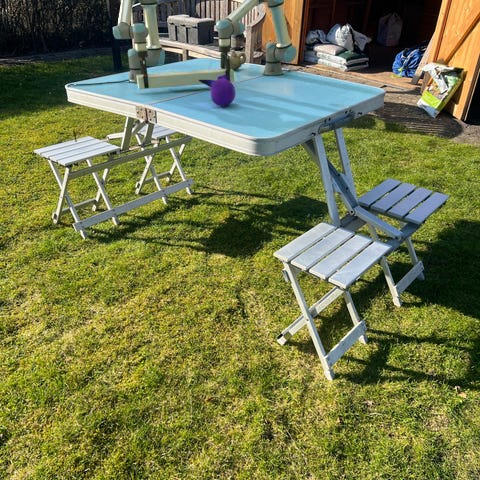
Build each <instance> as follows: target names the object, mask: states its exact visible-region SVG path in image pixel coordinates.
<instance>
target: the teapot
mask: <svg viewBox="0 0 480 480" xmlns="http://www.w3.org/2000/svg"><path fill="white" fill-rule="evenodd" d="M241 58H242V59H241ZM229 59H230V69H232V70H234V71H238V70H239V69H240V68H241V67H242V65H244V64H245V63H246V61H247V56H246V53H245V52H243V51H242V52H239V54H237V53H236V52H235V50H232V51H231V54H230V57H229Z"/></svg>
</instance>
